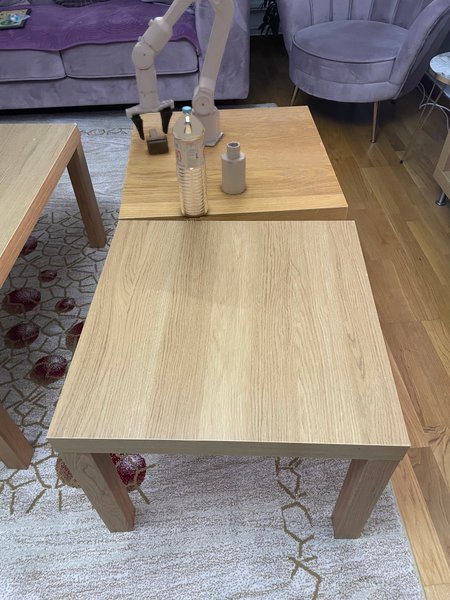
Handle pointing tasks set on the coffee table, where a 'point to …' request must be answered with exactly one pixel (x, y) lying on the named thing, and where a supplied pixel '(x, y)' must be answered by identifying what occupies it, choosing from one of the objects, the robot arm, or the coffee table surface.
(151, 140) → the brush
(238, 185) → the silver bottle
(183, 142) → the water bottle
